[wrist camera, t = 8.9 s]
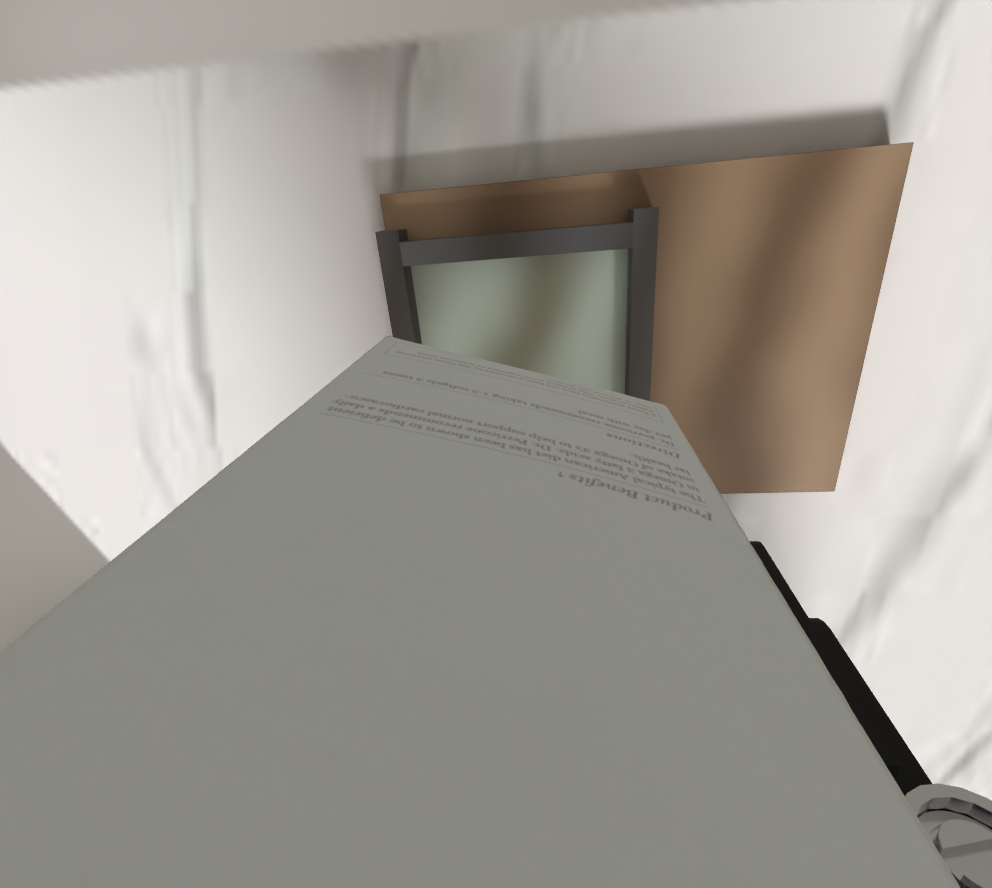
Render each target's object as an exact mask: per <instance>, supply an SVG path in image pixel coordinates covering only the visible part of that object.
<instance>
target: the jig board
mask: <svg viewBox="0 0 992 888" xmlns="http://www.w3.org/2000/svg"><path fill="white" fill-rule="evenodd" d="M913 143H914V142H911V143H901V144H891V145H880V146H870V147H860V148H850V149H840V150H829V151H819V152H809V153H799V154H789V155H778V156H768V157H758V158H748V159H738V160H728V161H717V162H707V163H697V164H687V165H677V166H666V167H656V168H646V169H636V170H626V171H616V172H605V173H595V174H585V175H575V176H565V177H554V178H544V179H534V180H524V181H514V182H503V183H493V184H483V185H473V186H463V187H453V188H442V189H432V190H422V191H412V192H402V193H391V194H381V195H380V199H381V205H382V212H383V218H384V224H385V230H386V231H380V232H375V233H376V239H377V245H378V250H379V256H380V262H381V268H382V274H383V280H384V286H385V292H386V298H387V304H388V310H389V316H390V322H391V328H392V333H393V337H394V338H398V339H401V340H405V341H410V342H414V343H418V344H422V345H426V346H430V347H434V348H438V349H442V350H447V351H451V352H455V353H459V354H463V355H467V356H471V357H475V358H479V359H483V360H488V361H492V362H496V363H500V364H504V365H508V366H512V367H516V368H520V369H524V370H528V371H532V372H537V373H541V374H545V375H549V376H553V377H557V378H561V379H565V380H569V381H573V382H577V383H581V384H585V385H589V386H593V387H597V388H601V389H605V390H610V391H614V392H617V393H621V394H625V395H628V396H632V397H636V398H639V399H643V400H647V401H650V402H654V403H659V404H663V405H665V406H667V408H668V409H669V411H670V413H671V414H672V416H673V418H674V419H675V421H676V422H677V424H678V426H679V427H680V429H681V431H682V432H683V434H684V436H685V437H686V439H687V440H688V442H689V443H690V445H691V447H692V448H693V450H694V452H695V453H696V455H697V457H698V459H699V460H700V462H701V463H702V465H703V467H704V468H705V470H706V472H707V473H708V475H709V477H710V478H711V480H712V481H713V483H714V485H715V486H716V488H717V490H718V492H719V493H720V494H729V493H778V492H827V491H835V487H836V482H837V478H838V474H839V469H840V465H841V460H842V456H843V451H844V447H845V443H846V438H847V434H848V429H849V425H850V421H851V416H852V412H853V407H854V403H855V399H856V394H857V390H858V385H859V381H860V376H861V372H862V368H863V363H864V359H865V354H866V350H867V346H868V341H869V337H870V332H871V328H872V324H873V319H874V315H875V310H876V306H877V301H878V297H879V293H880V288H881V284H882V279H883V275H884V271H885V266H886V262H887V257H888V253H889V249H890V244H891V240H892V235H893V231H894V227H895V222H896V218H897V213H898V209H899V204H900V200H901V196H902V191H903V187H904V182H905V178H906V174H907V169H908V165H909V160H910V156H911V152H912V147H913Z"/></svg>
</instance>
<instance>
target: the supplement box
mask: <svg viewBox="0 0 992 888" xmlns="http://www.w3.org/2000/svg"><path fill="white" fill-rule="evenodd" d="M0 888H960V886H959V885H958V883H957V881H956V880H955V878H954V876H953V875H952V873H951V872H950V870H949V868H948V867H947V865H946V863H945V862H944V860H943V858H942V857H941V855H940V853H939V852H938V850H937V849H936V847H935V845H934V844H933V842H932V840H931V839H930V837H929V835H928V834H927V832H926V831H925V829H924V827H923V826H922V824H921V822H920V821H919V819H918V817H917V816H916V814H915V812H914V811H913V809H912V808H911V806H910V804H909V803H908V801H907V799H906V798H905V796H904V794H903V793H902V791H901V790H900V788H899V786H898V785H897V783H896V781H895V780H894V778H893V776H892V775H891V773H890V772H889V770H888V768H887V767H886V765H885V763H884V762H883V760H882V759H881V757H880V755H879V754H878V752H877V750H876V749H875V747H874V746H873V744H872V742H871V741H870V739H869V737H868V736H867V734H866V733H865V731H864V729H863V728H862V726H861V725H860V723H859V721H858V720H857V718H856V716H855V715H854V713H853V712H852V710H851V708H850V706H849V704H848V703H847V701H846V699H845V697H844V695H843V694H842V692H841V691H840V689H839V687H838V686H837V684H836V683H835V681H834V680H833V678H832V677H831V675H830V673H829V672H828V670H827V668H826V667H825V665H824V663H823V661H822V660H821V658H820V656H819V655H818V653H817V651H816V650H815V648H814V646H813V645H812V643H811V642H810V640H809V638H808V637H807V635H806V634H805V632H804V630H803V629H802V627H801V626H800V624H799V622H798V621H797V619H796V617H795V616H794V614H793V613H792V611H791V609H790V608H789V606H788V604H787V602H786V601H785V599H784V597H783V596H782V594H781V592H780V591H779V589H778V588H777V586H776V585H775V583H774V582H773V580H772V578H771V577H770V575H769V573H768V572H767V570H766V568H765V567H764V565H763V563H762V561H761V560H760V558H759V556H758V555H757V553H756V552H755V550H754V548H753V547H752V545H751V543H750V542H749V540H748V538H747V537H746V535H745V533H744V532H743V530H742V528H741V527H740V525H739V524H738V522H737V521H736V519H735V518H734V516H733V514H732V513H731V511H730V509H729V508H728V506H727V504H726V503H725V501H724V499H723V497H722V496H721V494H720V493H719V492H718V490H717V488H716V486H715V485H714V483H713V481H712V480H711V478H710V477H709V475H708V473H707V472H706V470H705V468H704V467H703V465H702V463H701V462H700V460H699V459H698V457H697V455H696V453H695V452H694V450H693V448H692V447H691V445H690V443H689V442H688V440H687V439H686V437H685V436H684V434H683V432H682V431H681V429H680V427H679V426H678V424H677V422H676V421H675V419H674V418H673V416H672V414H671V413H670V411H669V409H668V408H667V406H665V405H663V404H659V403H654V402H650V401H647V400H643V399H639V398H636V397H632V396H628V395H625V394H621V393H617V392H614V391H610V390H605V389H601V388H597V387H593V386H589V385H585V384H581V383H577V382H573V381H569V380H565V379H561V378H557V377H553V376H549V375H545V374H541V373H537V372H532V371H528V370H524V369H520V368H516V367H512V366H508V365H504V364H500V363H496V362H492V361H488V360H483V359H479V358H475V357H471V356H467V355H463V354H459V353H455V352H451V351H447V350H442V349H438V348H434V347H430V346H426V345H422V344H418V343H414V342H410V341H405V340H401V339H398V338H394V337H391V336H386V337H385V338H384V339H383V340H382V341H381V342H379V343H378V344H377V345H376V346H374V347H373V348H372V349H371V350H369V351H368V352H367V353H366V354H364V355H363V356H362V357H361V358H360V359H358V360H357V361H356V362H355V363H353V364H352V365H351V366H350V367H349V368H347V369H346V370H345V371H344V372H342V373H341V374H340V375H339V376H338V377H336V378H335V379H334V380H333V381H331V382H330V383H329V384H328V385H327V386H325V387H324V388H323V389H322V390H320V391H319V392H318V393H317V394H316V395H314V396H313V397H312V398H311V399H310V400H308V401H307V402H306V403H305V404H304V405H302V406H301V407H300V408H299V409H297V410H296V411H295V412H293V413H292V414H291V415H290V416H288V417H287V418H286V419H285V420H283V421H282V422H281V423H280V424H278V425H277V426H276V427H275V428H273V429H272V430H271V431H270V432H269V433H267V434H266V435H265V436H264V437H262V438H261V439H260V440H259V441H257V442H256V443H255V444H254V445H253V446H251V447H250V448H249V449H248V450H247V451H245V452H244V453H243V454H242V455H241V456H239V457H238V458H237V459H236V460H234V461H233V462H232V463H230V464H229V465H228V466H227V467H225V468H224V469H223V470H222V471H221V472H219V473H218V474H217V475H216V476H214V477H213V478H212V479H211V480H210V481H208V482H207V483H206V484H205V485H204V486H202V487H201V488H200V489H199V490H198V491H196V492H195V493H194V494H193V495H191V496H190V497H189V498H188V499H187V500H185V501H184V502H183V503H182V504H181V505H179V506H178V507H177V508H176V509H174V510H173V511H172V512H171V513H170V514H168V515H167V516H166V517H165V518H164V519H162V520H161V521H160V522H159V523H157V524H156V525H155V526H154V527H153V528H151V529H150V530H149V531H148V532H146V533H145V534H144V535H143V536H141V537H140V538H139V539H138V540H137V541H135V542H134V543H133V544H132V545H130V546H129V547H128V548H127V549H125V550H124V551H123V552H122V553H120V554H119V555H118V556H117V557H116V558H114V559H113V560H112V561H111V562H109V563H108V564H107V565H106V566H104V567H103V568H102V569H101V570H100V571H98V572H97V573H96V574H95V575H93V576H92V577H91V578H90V579H89V580H87V581H86V582H85V583H84V584H82V585H81V586H80V587H79V588H77V589H76V590H75V591H74V592H72V593H71V594H70V595H69V596H67V597H66V598H65V599H64V600H63V601H61V602H60V603H59V604H58V605H56V606H55V607H54V608H53V609H51V610H50V611H49V612H48V613H47V614H45V615H44V616H43V617H42V618H41V619H40V620H38V621H37V622H36V623H35V624H33V625H32V626H31V627H30V628H29V629H28V630H26V631H25V632H24V633H23V634H22V635H21V636H19V637H18V638H17V639H16V640H15V641H14V642H12V643H11V644H10V645H9V646H8V647H7V648H5V649H4V650H3V651H2V652H0Z"/></svg>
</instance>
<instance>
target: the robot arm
mask: <svg viewBox="0 0 992 888" xmlns="http://www.w3.org/2000/svg"><path fill="white" fill-rule="evenodd" d="M749 542H750V543H751V545H752V547H753V548H754V550H755V552H756V553H757V555H758V556H759V558H760V560H761V561H762V563H763V565H764V567H765V568H766V570H767V572H768V573H769V575H770V577H771V578H772V580H773V582H774V583H775V585H776V586H777V588H778V589H779V591H780V592H781V594H782V596H783V597H784V599H785V601H786V602H787V604H788V606H789V608H790V609H791V611H792V613H793V614H794V616H795V617H796V619H797V621H798V622H799V624H800V626H801V627H802V629H803V630H804V632H805V634H806V635H807V637H808V638H809V640H810V642H811V643H812V645H813V646H814V648H815V650H816V651H817V653H818V655H819V656H820V658H821V660H822V661H823V663H824V665H825V667H826V668H827V670H828V672H829V673H830V675H831V677H832V678H833V680H834V681H835V683H836V684H837V686H838V687H839V689H840V691H841V692H842V694H843V695H844V697H845V699H846V701H847V703H848V704H849V706H850V708H851V710H852V712H853V713H854V715H855V716H856V718H857V720H858V721H859V723H860V725H861V726H862V728H863V729H864V731H865V733H866V734H867V736H868V737H869V739H870V741H871V742H872V744H873V746H874V747H875V749H876V750H877V752H878V754H879V755H880V757H881V759H882V760H883V762H884V763H885V765H886V767H887V768H888V770H889V772H890V773H891V775H892V776H893V778H894V780H895V781H896V783H897V785H898V786H899V788H900V790H901V791H902V793H903V794H904V796H905V798H906V799H907V801H908V803H909V804H910V806H911V808H912V809H913V811H914V812H915V814H916V816H917V817H918V819H919V821H920V822H921V824H922V826H923V827H924V829H925V831H926V832H927V834H928V835H929V837H930V839H931V840H932V842H933V844H934V845H935V847H936V849H937V850H938V852H939V853H940V855H941V857H942V858H943V860H944V862H945V863H946V865H947V867H948V868H949V870H950V872H951V873H952V875H953V876H954V878H955V880H956V881H957V883H958V885H959V886H960V888H992V801H991V800H989V799H988V798H985V797H983V796H980V795H978V794H975V793H973V792H970V791H968V790H965V789H963V788H959V787H954V786H949V785H943V784H932V783H931V781H930V780H929V778H928V777H927V775H926V774H925V772H924V770H923V769H922V767H921V766H920V764H919V763H918V761H917V760H916V758H915V757H914V755H913V754H912V752H911V751H910V749H909V748H908V746H907V745H906V743H905V742H904V740H903V739H902V737H901V736H900V734H899V733H898V731H897V729H896V728H895V726H894V725H893V723H892V722H891V720H890V719H889V717H888V716H887V714H886V713H885V711H884V710H883V708H882V707H881V705H880V704H879V702H878V701H877V699H876V698H875V696H874V695H873V693H872V692H871V690H870V689H869V687H868V685H867V684H866V682H865V681H864V679H863V678H862V676H861V675H860V673H859V672H858V670H857V669H856V667H855V666H854V664H853V663H852V661H851V660H850V658H849V657H848V655H847V654H846V652H845V651H844V649H843V648H842V646H841V644H840V643H839V641H838V640H837V638H836V637H835V635H834V634H833V632H832V631H831V629H830V628H829V627H828V626H827V625H826V623H825V622H824V621H822V620H820V619H819V618H808V616H807V615H806V613H805V611H804V610H803V608H802V607H801V605H800V603H799V602H798V600H797V599H796V597H795V595H794V594H793V592H792V591H791V589H790V587H789V586H788V584H787V583H786V581H785V579H784V578H783V576H782V575H781V573H780V571H779V570H778V568H777V567H776V565H775V563H774V562H773V560H772V559H771V557H770V555H769V554H768V552H767V551H766V549H765V547H764V546H763V545H762V543H761V542H758V541H749Z"/></svg>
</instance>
